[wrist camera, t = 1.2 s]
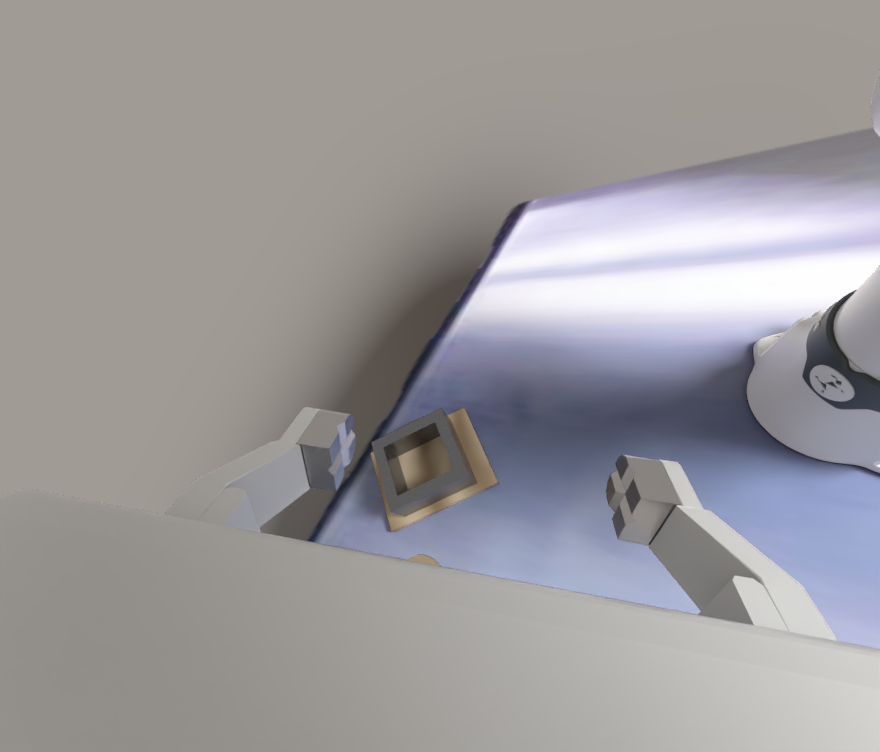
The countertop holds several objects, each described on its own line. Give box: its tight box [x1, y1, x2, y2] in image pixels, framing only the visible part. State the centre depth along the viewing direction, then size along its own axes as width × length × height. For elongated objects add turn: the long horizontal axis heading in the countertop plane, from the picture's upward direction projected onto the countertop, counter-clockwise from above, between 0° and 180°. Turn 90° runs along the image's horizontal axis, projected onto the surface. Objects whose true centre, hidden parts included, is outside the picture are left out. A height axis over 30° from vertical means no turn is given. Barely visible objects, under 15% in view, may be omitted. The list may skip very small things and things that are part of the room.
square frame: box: [371, 408, 477, 517], centre depth 50 cm, size 11×10×5 cm
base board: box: [371, 408, 499, 532], centre depth 53 cm, size 16×12×1 cm
